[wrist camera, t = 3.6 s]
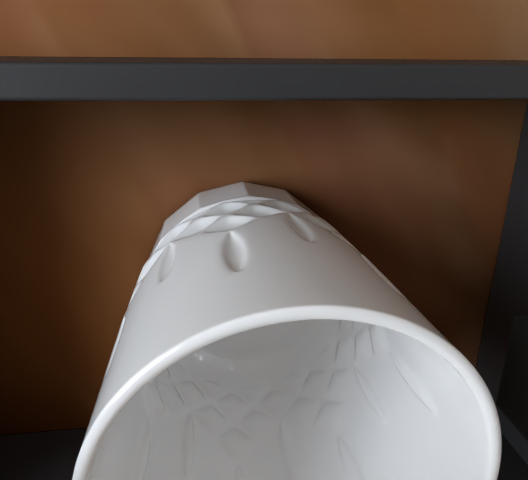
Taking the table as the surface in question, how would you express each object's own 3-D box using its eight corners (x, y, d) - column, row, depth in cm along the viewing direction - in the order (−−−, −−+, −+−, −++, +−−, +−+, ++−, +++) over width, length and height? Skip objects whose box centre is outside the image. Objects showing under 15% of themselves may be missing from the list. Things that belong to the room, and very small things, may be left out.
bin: (556, 60, 17) (692, 65, 12) (483, 406, 22) (560, 500, 18) (-137, 55, 14) (-294, 59, 10) (-32, 454, 19) (-101, 580, 15)
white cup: (184, 125, 16) (178, 232, 7) (385, 216, 18) (585, 391, 9) (99, 324, 18) (8, 609, 9) (288, 384, 20) (372, 665, 11)
